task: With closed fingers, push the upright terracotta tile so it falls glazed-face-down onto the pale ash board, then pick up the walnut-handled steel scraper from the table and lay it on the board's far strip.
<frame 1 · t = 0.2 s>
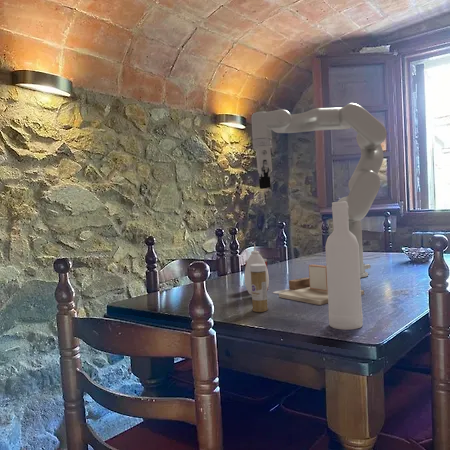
hand: (264, 188, 178), 37 cm above the table, tool pointing down, fingers open, 9 cm apart
board: (321, 295, 146), on the table
tile: (320, 289, 150), point 1 cm above the table, touching board
canned food: (257, 290, 162), on the table
sprinkles bottle: (260, 311, 130), on the table
bottle: (345, 326, 109), on the table
sauce bottle: (257, 298, 149), on the table
scraper: (300, 289, 159), on the table
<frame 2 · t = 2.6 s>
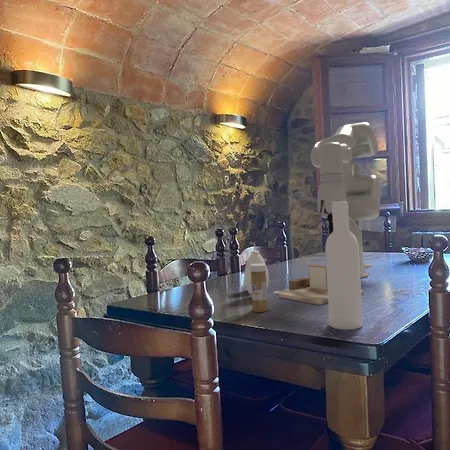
hand: (334, 233, 154), 19 cm above the table, tool pointing down, fingers closed
nothing on the table moved.
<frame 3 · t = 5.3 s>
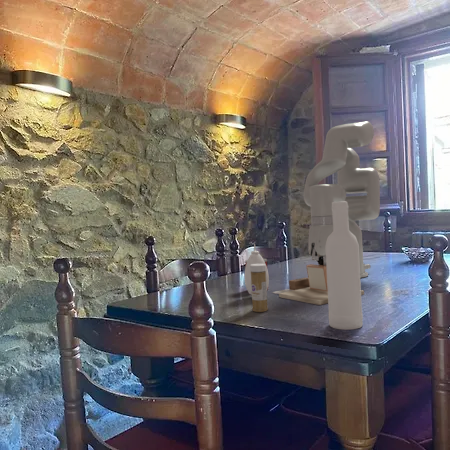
hand: (325, 276, 151), 5 cm above the table, tool pointing down, fingers closed
tile: (320, 289, 150), point 1 cm above the table, tilted 8°, touching board, gripper
everything else where it was.
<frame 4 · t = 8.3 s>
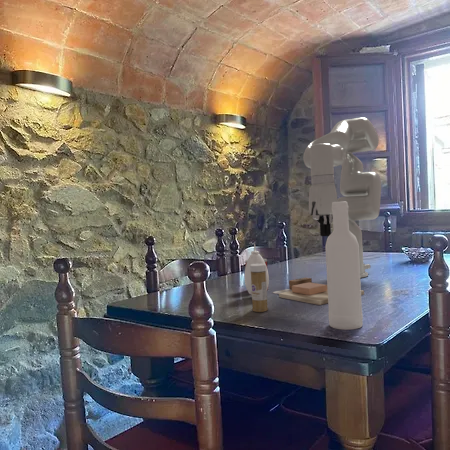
hand: (325, 235, 151), 19 cm above the table, tool pointing down, fingers closed
tile: (318, 286, 149), point 2 cm above the table, tilted 90°, touching board
everything else where it was.
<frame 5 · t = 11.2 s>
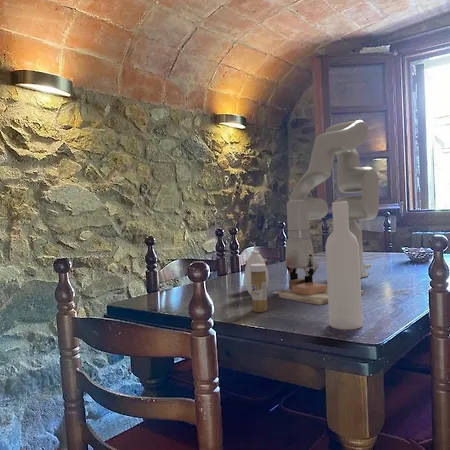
hand: (301, 285, 158), 1 cm above the table, tool pointing down, fingers open, 6 cm apart
nothing on the table moved.
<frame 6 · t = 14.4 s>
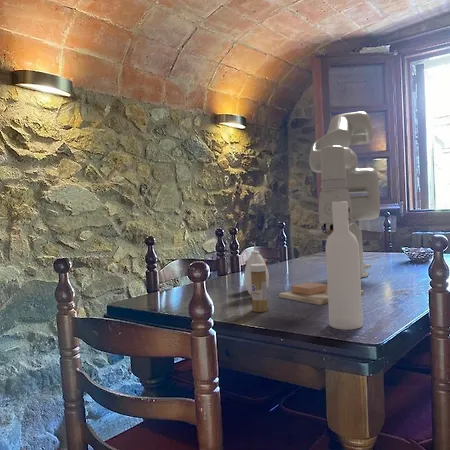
hand: (337, 244, 141), 17 cm above the table, tool pointing down, fingers closed on scraper, 3 cm apart
scraper: (336, 245, 141), point 16 cm above the table, tilted 28°, touching gripper
everything else where it was.
when the fingers open (3 cm above the table, at t = 17.1 s): scraper drops 2 cm, resting on board.
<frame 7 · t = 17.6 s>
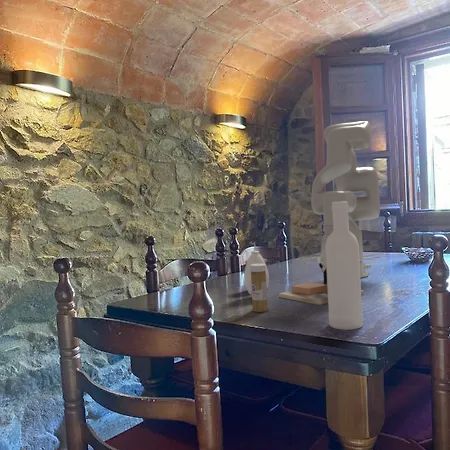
hand: (339, 285, 142), 4 cm above the table, tool pointing down, fingers open, 8 cm apart
scraper: (338, 293, 141), point 1 cm above the table, touching board
everything else where it was.
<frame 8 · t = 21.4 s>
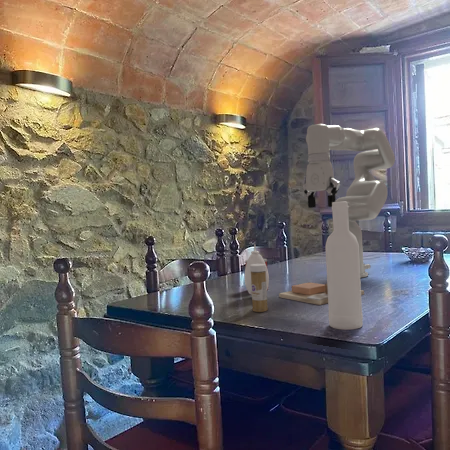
hand: (321, 207, 163), 28 cm above the table, tool pointing down, fingers open, 9 cm apart
nothing on the table moved.
at the end: tile tilted 90°; tile inside the target area on the board (3.8 cm from its centre), point 2.3 cm above the board's base; scraper inside the target area on the board (0.9 cm from its centre), point 1.2 cm above the board's base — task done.
